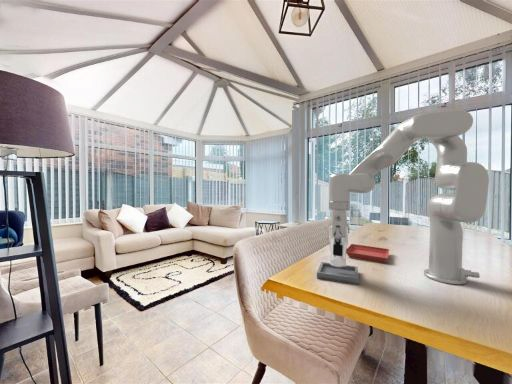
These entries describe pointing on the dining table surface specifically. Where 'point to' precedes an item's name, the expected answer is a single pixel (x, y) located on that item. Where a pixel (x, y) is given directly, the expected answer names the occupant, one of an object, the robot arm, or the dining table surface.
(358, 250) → the plant saucer
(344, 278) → the serving tray
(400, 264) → the dining table surface
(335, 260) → the beer glass
